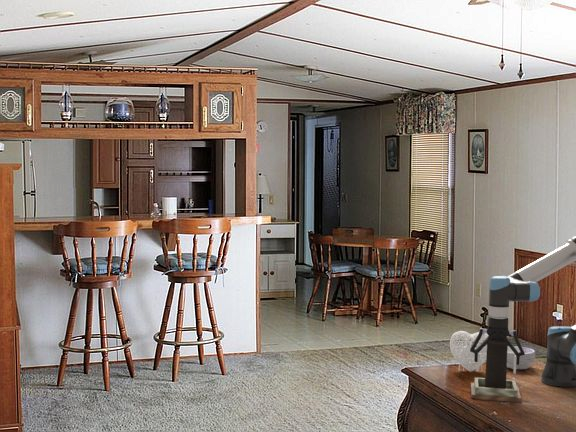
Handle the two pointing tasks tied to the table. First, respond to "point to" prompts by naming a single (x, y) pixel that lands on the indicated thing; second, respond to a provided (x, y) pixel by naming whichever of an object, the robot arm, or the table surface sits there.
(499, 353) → the container
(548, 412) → the table surface
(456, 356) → the decorative heart
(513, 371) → the robot arm
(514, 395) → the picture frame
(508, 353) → the paper bowls
